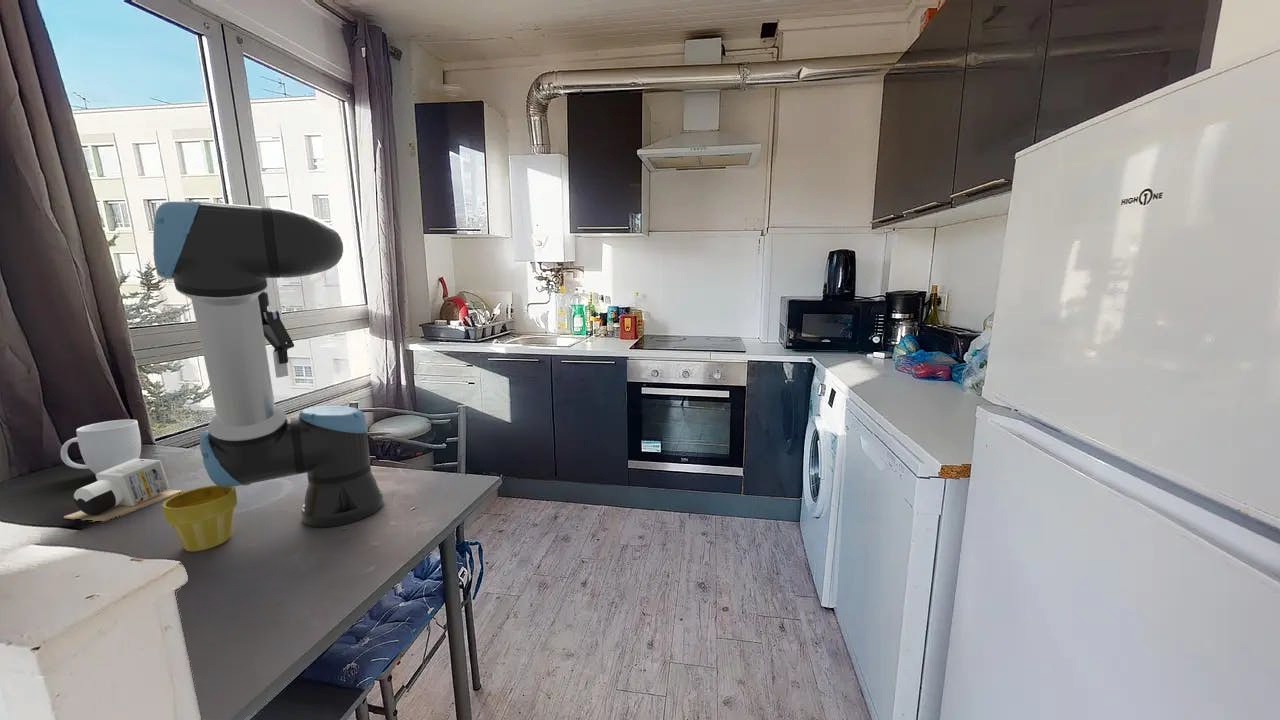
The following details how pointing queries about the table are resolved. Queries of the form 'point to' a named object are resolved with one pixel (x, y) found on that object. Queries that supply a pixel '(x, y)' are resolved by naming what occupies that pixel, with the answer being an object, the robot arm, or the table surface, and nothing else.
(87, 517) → the wooden board
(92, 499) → the container
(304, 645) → the table surface
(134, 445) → the mug
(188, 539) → the plant pot
